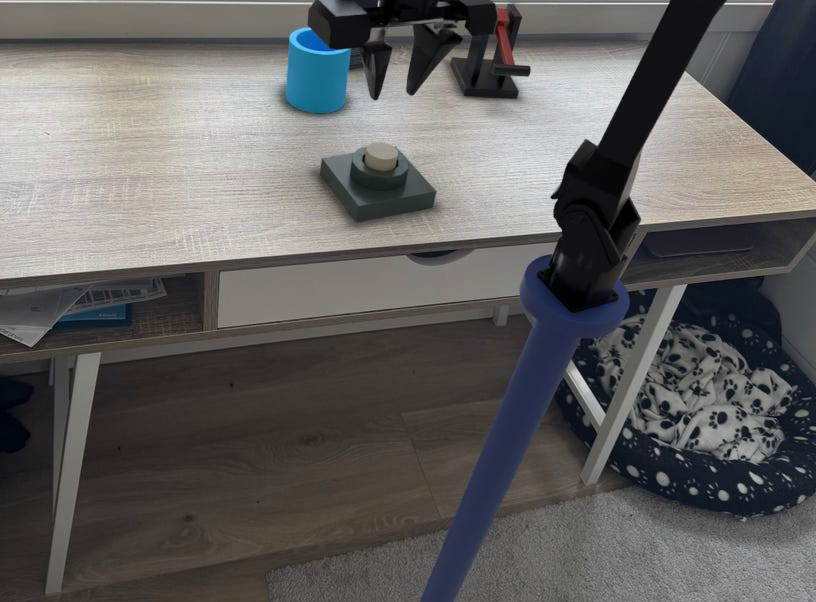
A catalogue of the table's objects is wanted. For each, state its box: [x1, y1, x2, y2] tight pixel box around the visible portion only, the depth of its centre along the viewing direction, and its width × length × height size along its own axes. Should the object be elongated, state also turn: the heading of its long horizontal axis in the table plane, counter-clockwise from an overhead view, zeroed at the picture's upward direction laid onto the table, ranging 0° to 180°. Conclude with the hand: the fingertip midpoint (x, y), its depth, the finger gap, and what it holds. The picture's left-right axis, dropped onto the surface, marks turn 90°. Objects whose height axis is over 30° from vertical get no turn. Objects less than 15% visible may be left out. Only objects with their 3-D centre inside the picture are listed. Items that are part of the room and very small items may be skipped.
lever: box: [489, 7, 532, 78], centre depth 101 cm, size 12×5×2 cm, turn 6°
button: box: [365, 141, 398, 172], centre depth 83 cm, size 4×4×2 cm
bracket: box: [449, 3, 523, 99], centre depth 106 cm, size 10×8×11 cm
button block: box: [319, 145, 437, 223], centre depth 85 cm, size 10×10×4 cm
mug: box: [285, 26, 351, 114], centre depth 99 cm, size 12×8×8 cm
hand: (391, 96), depth 78 cm, fingers open, 4 cm apart
